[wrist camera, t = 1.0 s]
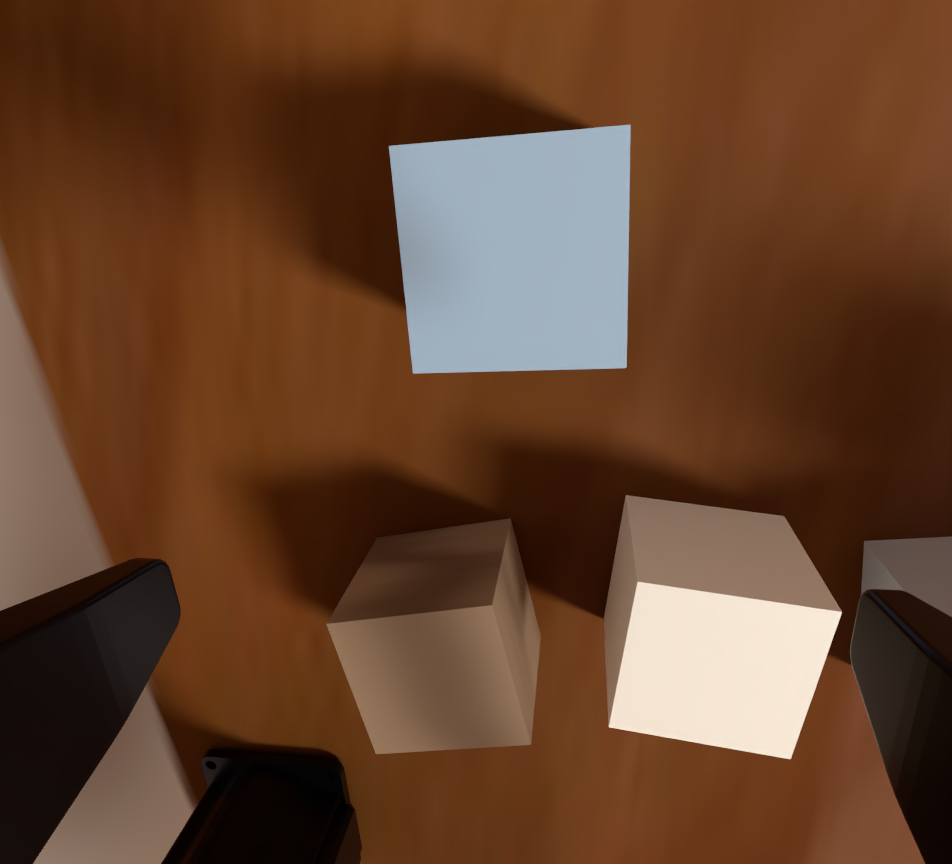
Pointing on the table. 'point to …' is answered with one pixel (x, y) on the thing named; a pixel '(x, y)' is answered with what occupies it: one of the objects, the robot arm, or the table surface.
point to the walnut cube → (441, 640)
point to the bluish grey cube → (515, 250)
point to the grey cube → (911, 568)
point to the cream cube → (714, 627)
